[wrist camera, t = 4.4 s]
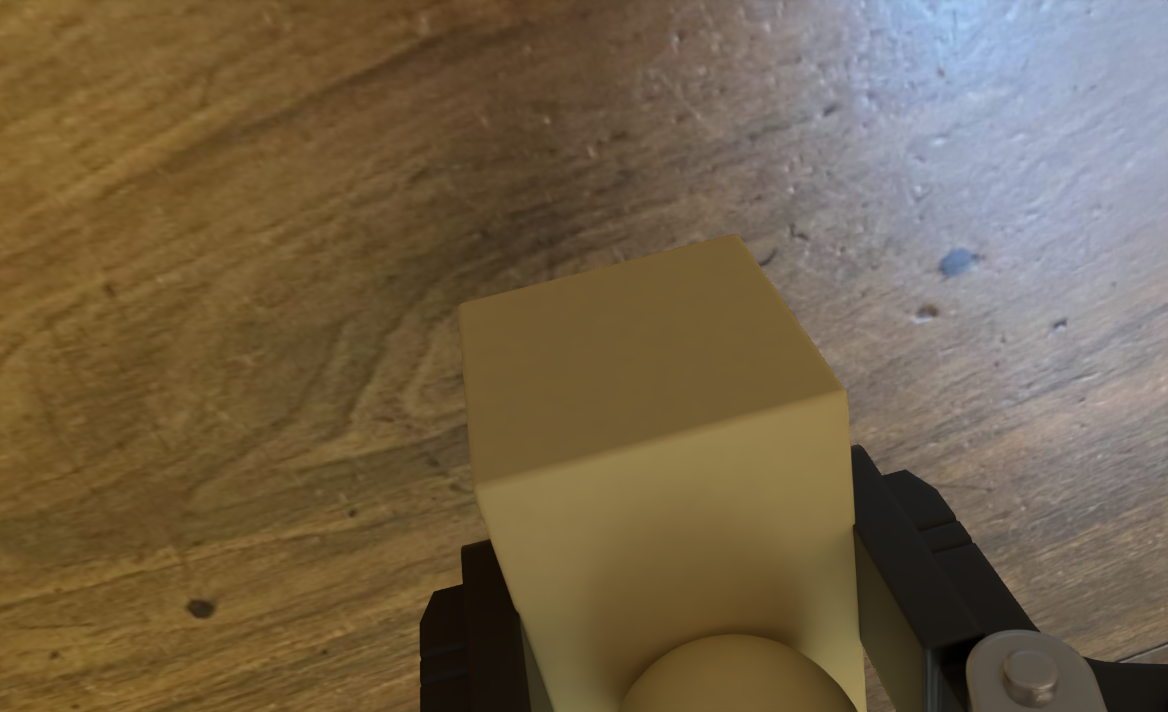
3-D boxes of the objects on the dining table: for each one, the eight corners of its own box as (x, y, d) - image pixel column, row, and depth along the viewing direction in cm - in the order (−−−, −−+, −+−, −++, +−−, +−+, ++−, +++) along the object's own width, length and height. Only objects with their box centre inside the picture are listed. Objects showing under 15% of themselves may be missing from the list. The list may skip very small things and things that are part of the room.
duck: (455, 302, 14) (488, 715, 8) (737, 230, 14) (984, 583, 8) (557, 619, 18) (633, 1062, 12) (778, 561, 18) (967, 970, 12)
